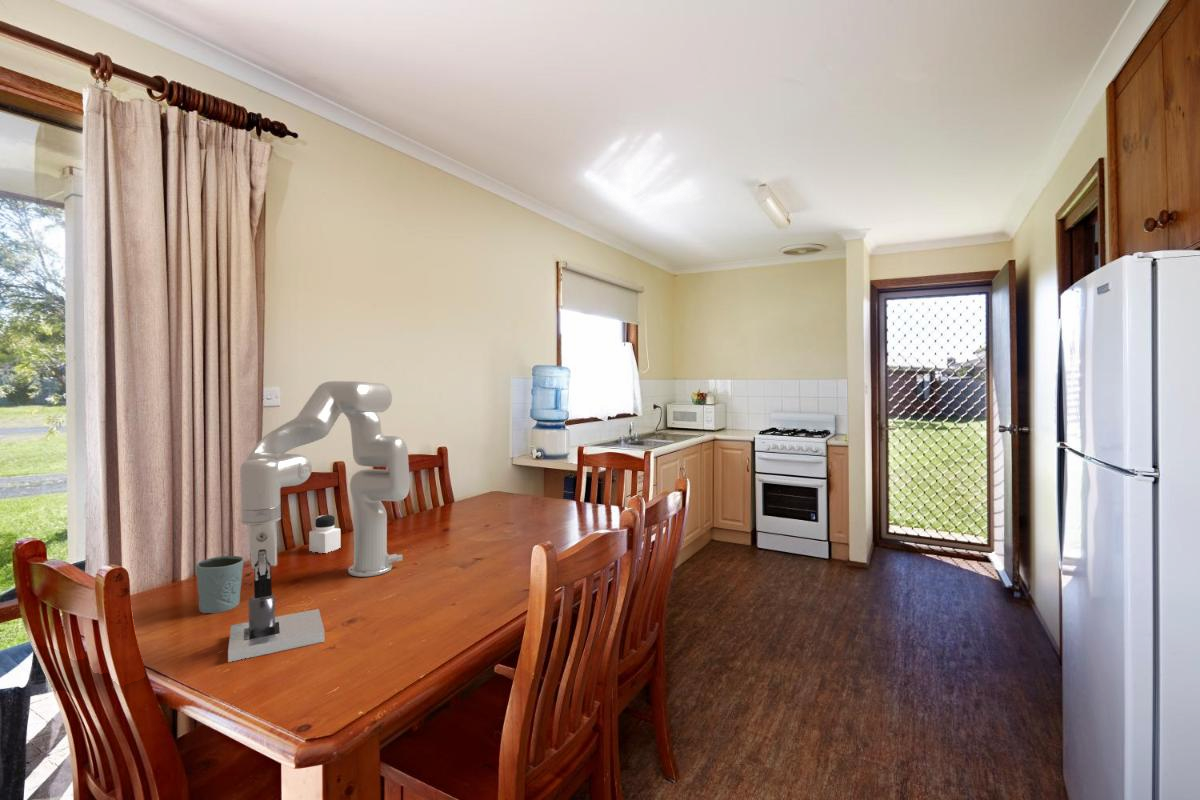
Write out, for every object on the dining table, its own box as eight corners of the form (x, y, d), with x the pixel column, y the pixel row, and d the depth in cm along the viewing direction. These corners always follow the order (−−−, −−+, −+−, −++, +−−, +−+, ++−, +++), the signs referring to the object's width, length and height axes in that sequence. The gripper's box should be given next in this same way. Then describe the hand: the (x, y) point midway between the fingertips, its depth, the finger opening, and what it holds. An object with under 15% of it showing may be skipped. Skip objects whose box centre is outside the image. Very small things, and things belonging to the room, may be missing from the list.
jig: (318, 618, 135) (318, 608, 135) (324, 641, 123) (324, 630, 123) (231, 635, 125) (231, 625, 125) (228, 662, 114) (228, 650, 113)
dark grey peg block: (274, 634, 126) (274, 592, 126) (275, 643, 122) (275, 599, 122) (249, 640, 124) (248, 596, 123) (248, 649, 119) (248, 604, 119)
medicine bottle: (341, 548, 193) (340, 514, 192) (324, 554, 186) (324, 519, 185) (325, 546, 195) (325, 513, 195) (308, 552, 188) (308, 517, 188)
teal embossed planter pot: (193, 606, 142) (193, 560, 141) (239, 596, 149) (238, 552, 148) (200, 618, 134) (200, 570, 134) (248, 607, 142) (247, 561, 141)
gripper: (282, 521, 117) (283, 599, 117) (279, 504, 131) (281, 573, 132) (240, 526, 113) (242, 607, 114) (242, 508, 127) (244, 580, 128)
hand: (263, 589), depth 123 cm, fingers open, 9 cm apart
